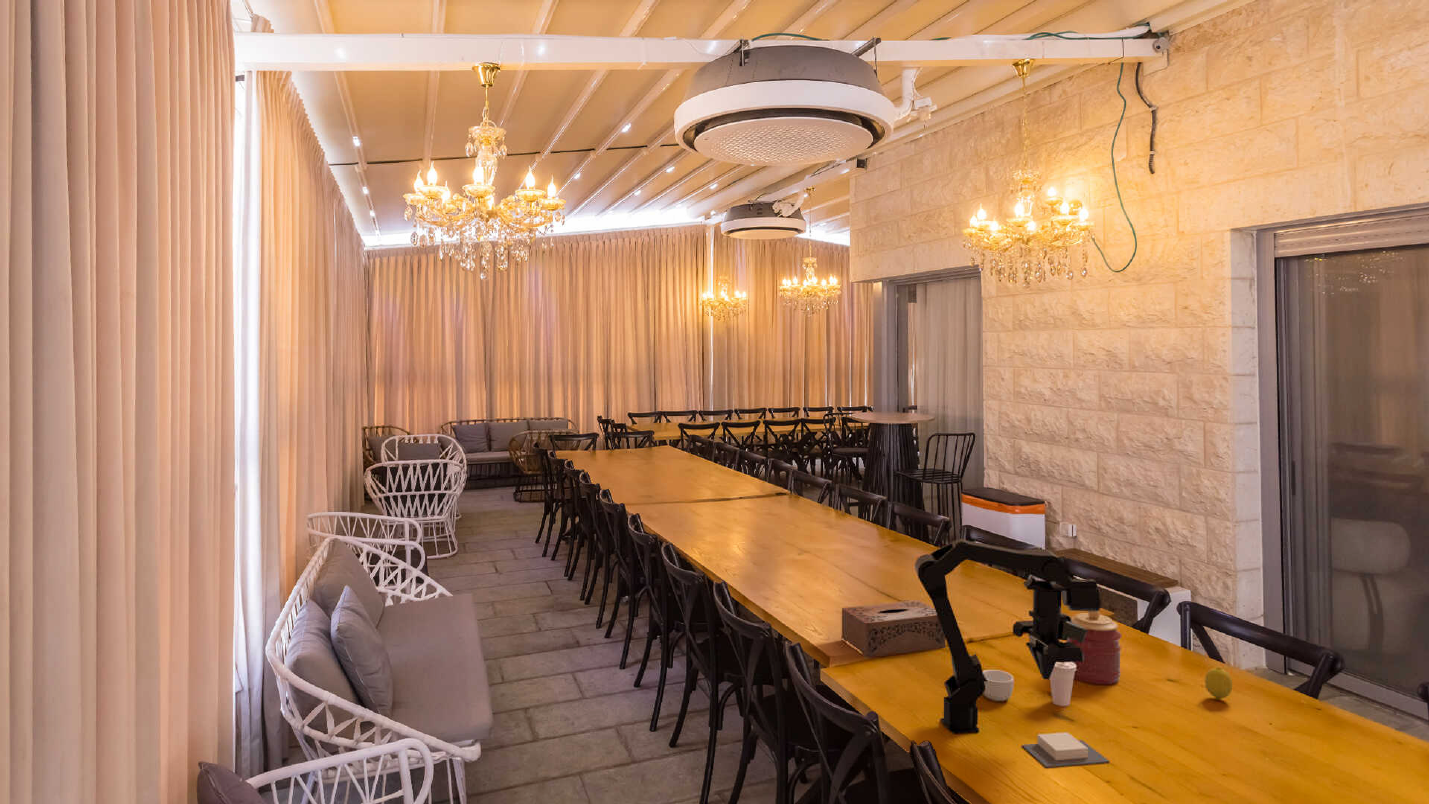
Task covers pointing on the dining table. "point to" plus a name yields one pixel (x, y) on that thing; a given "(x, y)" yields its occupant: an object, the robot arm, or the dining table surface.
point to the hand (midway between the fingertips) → (1045, 678)
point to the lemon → (1218, 683)
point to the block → (1062, 746)
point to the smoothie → (1062, 682)
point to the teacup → (998, 685)
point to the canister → (1098, 649)
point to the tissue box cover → (892, 628)
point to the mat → (1051, 762)
